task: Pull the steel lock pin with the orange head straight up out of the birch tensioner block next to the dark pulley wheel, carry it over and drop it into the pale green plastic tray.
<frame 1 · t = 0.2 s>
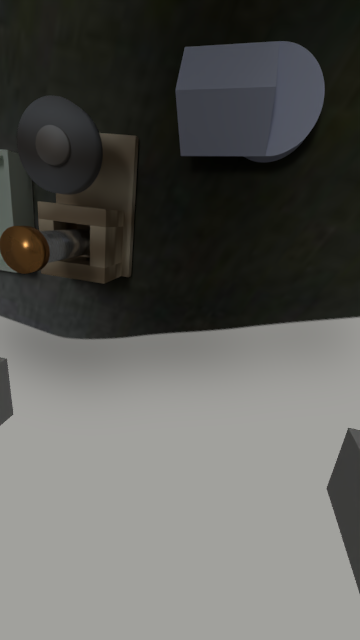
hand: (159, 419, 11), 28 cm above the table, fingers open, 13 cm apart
lock pin: (92, 240, 37), point 1 cm above the table, touching tensioner block
tensioner block: (96, 240, 38), on the table
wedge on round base: (249, 115, 31), on the table
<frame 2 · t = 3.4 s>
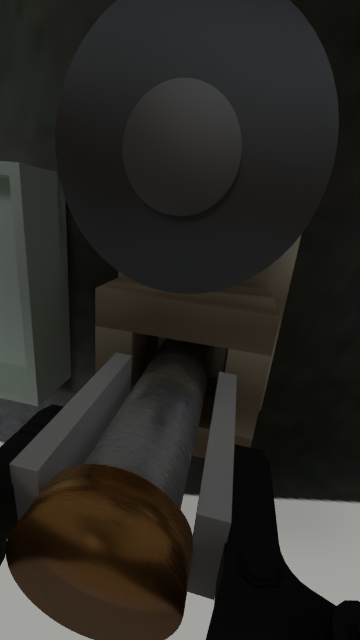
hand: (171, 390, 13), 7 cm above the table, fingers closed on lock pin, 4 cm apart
lock pin: (191, 341, 18), point 1 cm above the table, touching gripper, tensioner block
tensioner block: (194, 336, 19), on the table
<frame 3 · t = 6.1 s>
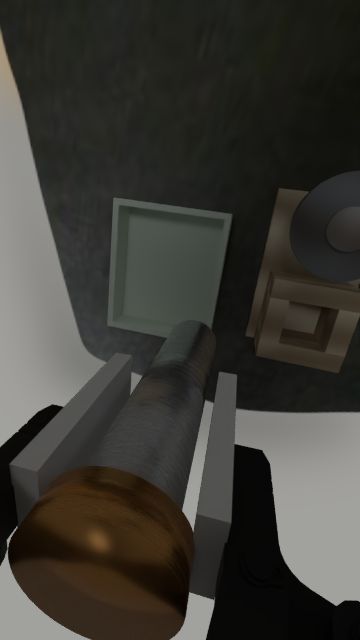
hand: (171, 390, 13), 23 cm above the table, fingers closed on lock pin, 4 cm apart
tray: (171, 269, 35), on the table
lock pin: (192, 342, 18), point 17 cm above the table, touching gripper
tensioner block: (297, 309, 33), on the table
when the fingers open (8 cm above the table, at t = 8.7 s): lock pin drops 2 cm, resting on tray.
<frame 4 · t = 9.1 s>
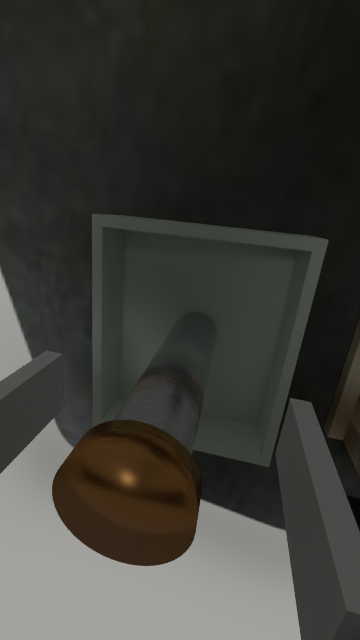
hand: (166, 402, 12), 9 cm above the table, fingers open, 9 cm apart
tray: (197, 328, 21), on the table
lock pin: (195, 332, 20), point 1 cm above the table, touching tray
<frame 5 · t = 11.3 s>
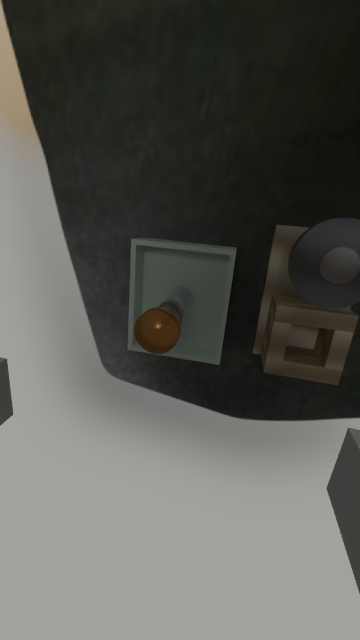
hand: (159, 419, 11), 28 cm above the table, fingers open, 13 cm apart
tray: (182, 296, 39), on the table
lock pin: (181, 298, 38), point 1 cm above the table, touching tray
tensioner block: (297, 327, 37), on the table
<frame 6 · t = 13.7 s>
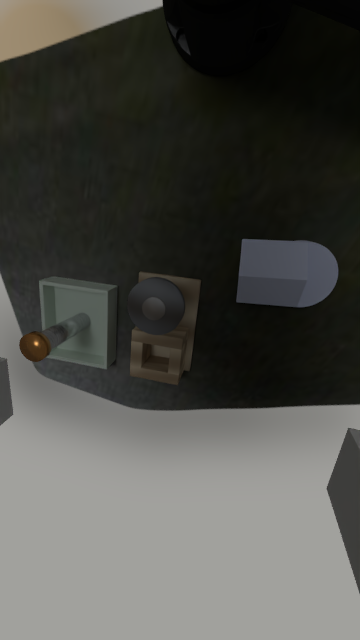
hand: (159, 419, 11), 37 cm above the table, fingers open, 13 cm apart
tray: (85, 318, 53), on the table
lock pin: (82, 320, 52), point 1 cm above the table, touching tray
tensioner block: (164, 343, 51), on the table
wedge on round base: (283, 270, 44), on the table
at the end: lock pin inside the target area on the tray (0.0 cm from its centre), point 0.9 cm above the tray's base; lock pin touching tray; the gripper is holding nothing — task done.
